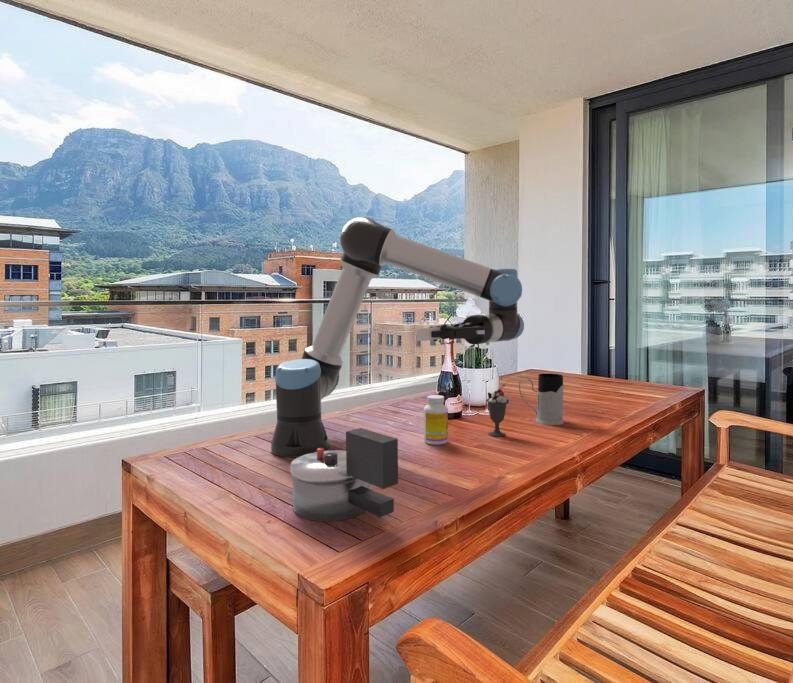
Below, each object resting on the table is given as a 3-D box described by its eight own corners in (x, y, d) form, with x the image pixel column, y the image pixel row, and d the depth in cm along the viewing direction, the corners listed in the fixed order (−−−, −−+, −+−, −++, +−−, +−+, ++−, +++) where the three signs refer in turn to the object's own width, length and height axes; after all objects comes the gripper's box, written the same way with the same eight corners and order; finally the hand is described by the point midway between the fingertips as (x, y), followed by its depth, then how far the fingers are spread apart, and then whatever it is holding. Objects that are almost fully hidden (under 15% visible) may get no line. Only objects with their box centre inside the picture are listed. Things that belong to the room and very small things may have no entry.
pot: (270, 500, 103) (269, 466, 102) (330, 480, 113) (329, 450, 113) (354, 546, 84) (353, 505, 83) (416, 517, 94) (416, 481, 94)
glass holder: (563, 426, 157) (564, 378, 156) (516, 422, 162) (517, 375, 161) (564, 419, 166) (565, 373, 164) (519, 416, 170) (520, 371, 169)
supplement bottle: (450, 444, 139) (450, 398, 138) (426, 446, 138) (426, 399, 137) (444, 438, 146) (444, 393, 144) (421, 439, 145) (421, 394, 143)
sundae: (511, 437, 146) (512, 385, 144) (488, 438, 145) (489, 386, 144) (505, 431, 152) (505, 381, 151) (483, 431, 152) (483, 382, 150)
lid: (275, 468, 100) (273, 422, 99) (338, 451, 111) (337, 409, 110) (355, 506, 82) (354, 451, 81) (422, 481, 93) (421, 432, 92)
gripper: (502, 345, 127) (440, 353, 111) (461, 341, 137) (398, 349, 120) (502, 315, 127) (440, 319, 110) (461, 313, 136) (398, 317, 119)
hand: (419, 334), depth 115 cm, fingers closed
